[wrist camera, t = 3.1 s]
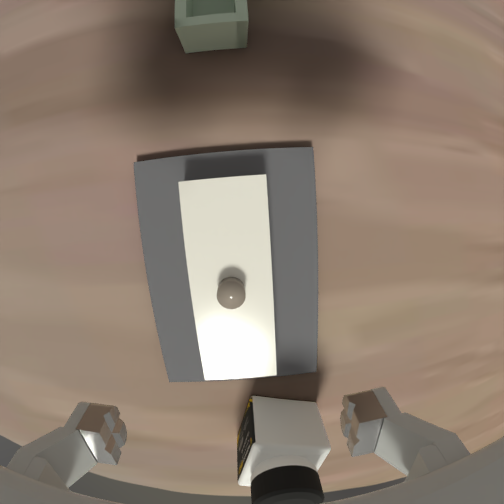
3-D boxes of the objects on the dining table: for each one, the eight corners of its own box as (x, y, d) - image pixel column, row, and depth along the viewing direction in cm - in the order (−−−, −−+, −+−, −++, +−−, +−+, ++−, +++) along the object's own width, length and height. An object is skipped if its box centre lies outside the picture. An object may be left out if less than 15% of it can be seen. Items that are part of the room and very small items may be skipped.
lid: (207, 364, 27) (203, 388, 23) (184, 181, 23) (174, 182, 19) (273, 359, 27) (278, 383, 23) (263, 174, 23) (267, 174, 20)
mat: (170, 377, 28) (169, 381, 27) (136, 162, 23) (133, 162, 22) (314, 367, 28) (316, 371, 27) (310, 147, 23) (313, 147, 23)
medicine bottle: (250, 393, 29) (256, 490, 17) (317, 400, 29) (346, 489, 18) (236, 437, 30) (237, 525, 19) (296, 443, 31) (314, 525, 19)
